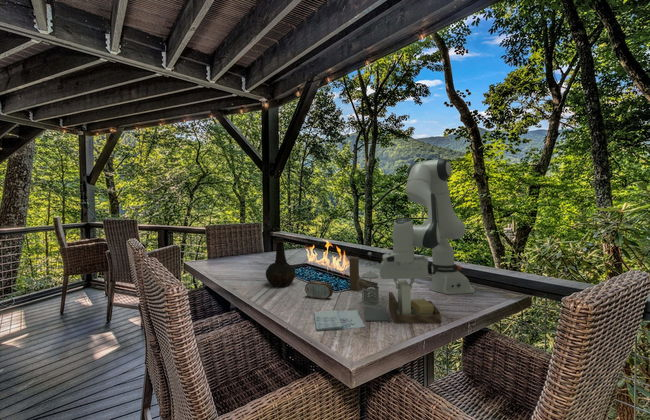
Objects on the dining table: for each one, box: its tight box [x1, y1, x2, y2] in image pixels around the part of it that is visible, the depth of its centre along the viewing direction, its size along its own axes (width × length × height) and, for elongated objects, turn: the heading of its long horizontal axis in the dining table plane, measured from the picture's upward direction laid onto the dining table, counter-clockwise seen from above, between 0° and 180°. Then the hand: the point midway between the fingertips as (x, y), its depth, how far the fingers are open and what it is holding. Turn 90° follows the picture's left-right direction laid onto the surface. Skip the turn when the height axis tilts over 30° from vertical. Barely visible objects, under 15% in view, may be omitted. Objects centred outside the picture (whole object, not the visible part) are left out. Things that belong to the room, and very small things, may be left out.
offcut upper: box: [411, 298, 435, 314], centre depth 135 cm, size 6×9×3 cm, turn 8°
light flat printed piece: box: [313, 309, 366, 332], centre depth 132 cm, size 19×20×2 cm
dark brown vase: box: [265, 237, 296, 287], centre depth 190 cm, size 18×18×28 cm
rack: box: [388, 291, 442, 324], centre depth 136 cm, size 18×17×8 cm
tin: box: [304, 280, 334, 300], centre depth 162 cm, size 15×3×8 cm, turn 65°
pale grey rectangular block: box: [397, 279, 412, 314], centre depth 136 cm, size 4×11×14 cm, turn 176°
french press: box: [357, 251, 382, 308], centre depth 152 cm, size 10×12×25 cm
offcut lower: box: [411, 307, 433, 315], centre depth 136 cm, size 6×9×3 cm, turn 0°
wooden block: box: [348, 256, 368, 292], centre depth 175 cm, size 9×4×18 cm, turn 75°
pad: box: [363, 307, 391, 323], centre depth 137 cm, size 10×14×1 cm
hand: (403, 288), depth 136 cm, fingers closed on pale grey rectangular block, 3 cm apart
